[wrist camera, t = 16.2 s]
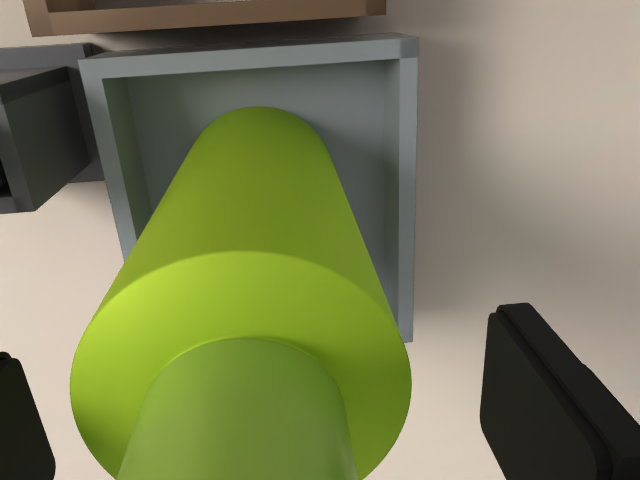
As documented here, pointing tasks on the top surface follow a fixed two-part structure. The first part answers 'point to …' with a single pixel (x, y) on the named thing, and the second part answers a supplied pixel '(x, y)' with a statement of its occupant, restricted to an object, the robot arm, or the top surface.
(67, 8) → the wooden box
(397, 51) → the tray
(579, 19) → the top surface
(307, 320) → the soap dispenser
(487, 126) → the top surface
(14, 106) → the plunger collar
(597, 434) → the robot arm
